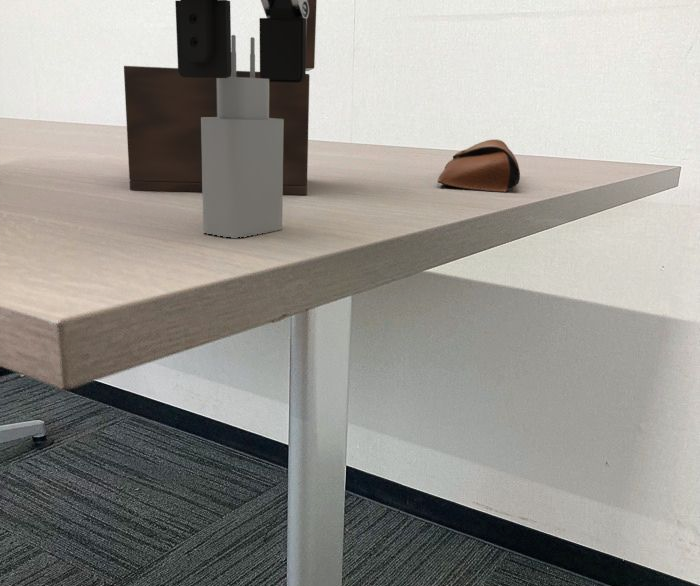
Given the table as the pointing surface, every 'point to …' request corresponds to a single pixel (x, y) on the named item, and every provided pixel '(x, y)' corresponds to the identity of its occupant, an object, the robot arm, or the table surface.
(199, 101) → the chest
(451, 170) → the sunglasses case
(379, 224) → the table surface
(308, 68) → the lid
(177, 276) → the table surface
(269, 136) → the power adapter
